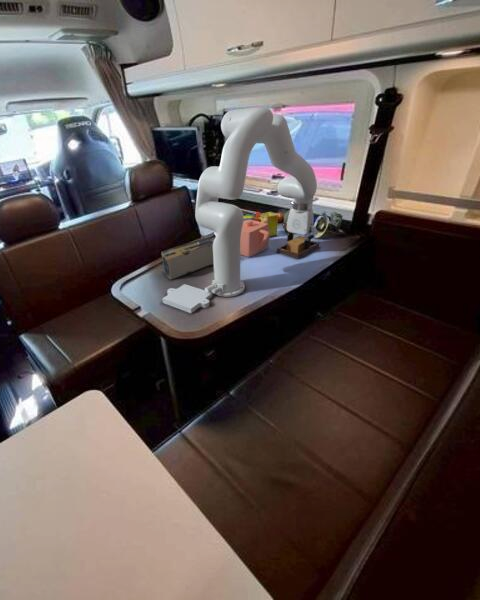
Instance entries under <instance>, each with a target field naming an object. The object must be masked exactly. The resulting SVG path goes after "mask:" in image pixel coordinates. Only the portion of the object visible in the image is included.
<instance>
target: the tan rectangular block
mask: <svg viewBox="0 0 480 600" xmlns="http://www.w3.org/2000/svg"><path fill="white" fill-rule="evenodd" d="M305 240H306V238H305V236H303V235H299V236H297V237H295V238H294V237H293V239H292V240H290V241H288V242H287V241H286V244H287V250H288V251H291V252H294V253H299V252H301V251H303V250H305V249H304V241H305ZM311 241H312V240H311ZM311 241H310V242H311ZM309 247H310V246H309Z"/></svg>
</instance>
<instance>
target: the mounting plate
mask: <svg viewBox="0 0 480 600" xmlns="http://www.w3.org/2000/svg"><path fill="white" fill-rule="evenodd" d="M166 292H167V293H166V294H167V295H165V296H164V297H162V299H161V300H162V304H165V305H168V306H169V307H173V308H176V309H178V310H181V311H184V312H186V313H188V314H193V313H194V312H196V311H197V310H198V309H200V308H203V309H207V308H208V307H210V300H211V298H212V297H213V292H212V291H210V292H206V291H205V289H202V288H198V287H195V286H192V285H188V284H185V283H183V284H182V285H181V286H179V287H178V288H173V287H171V288H168V289H167V290H166Z"/></svg>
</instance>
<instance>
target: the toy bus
mask: <svg viewBox="0 0 480 600" xmlns="http://www.w3.org/2000/svg"><path fill="white" fill-rule="evenodd" d="M213 242H214V240H211V239H208V238H206V237H202V238H199V239H196V240H193V241H190V242H187V243H184V244H181V245H177V246H175V247H172V248H169V249H166V250H163V251H161V253H160V254H161V260H162V266H163V272H164V274H165V276H166V277H167V278H168V279H170V280H174V279H177V278H179V277H182V276H185V275H191V274H192V273H193V272H195V271H199V270H200V269H203V268H206V267H208V266H209V267H212V266H213V265H214V262H213Z"/></svg>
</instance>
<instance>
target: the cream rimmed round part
mask: <svg viewBox="0 0 480 600" xmlns="http://www.w3.org/2000/svg"><path fill="white" fill-rule="evenodd" d="M316 218H317V217H316ZM329 221H330V217H329V216H328V214H327V213H326V211H323V212H322V213H321V215H319V216H318V218H317V220H316V222H315V224H314V228H315V229H316V230H317V231H318V234H317V235H316V236H315V237H314V239H318V238H320V237H321V236H323V235H324V234H326V233H327V232H328V233H329V232H330V233H332V234H337V235H343V236H346V235H347V232H346V230H344V229H342V228H341V227H340V228H338V227H336V226H335V225H332V224H329ZM311 234H313V232H311Z"/></svg>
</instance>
